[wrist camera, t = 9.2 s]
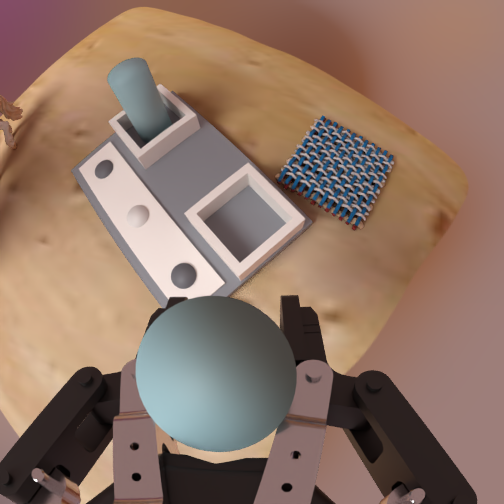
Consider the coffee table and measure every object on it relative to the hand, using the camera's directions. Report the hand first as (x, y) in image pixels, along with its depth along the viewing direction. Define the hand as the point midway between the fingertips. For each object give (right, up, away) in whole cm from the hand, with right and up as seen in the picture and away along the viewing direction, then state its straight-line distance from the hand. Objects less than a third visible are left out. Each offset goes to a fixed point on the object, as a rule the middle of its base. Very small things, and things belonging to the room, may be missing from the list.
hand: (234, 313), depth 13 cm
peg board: (-7, +9, +19) cm, 22 cm away
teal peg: (0, -3, +3) cm, 5 cm away
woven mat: (+10, +11, +20) cm, 25 cm away
